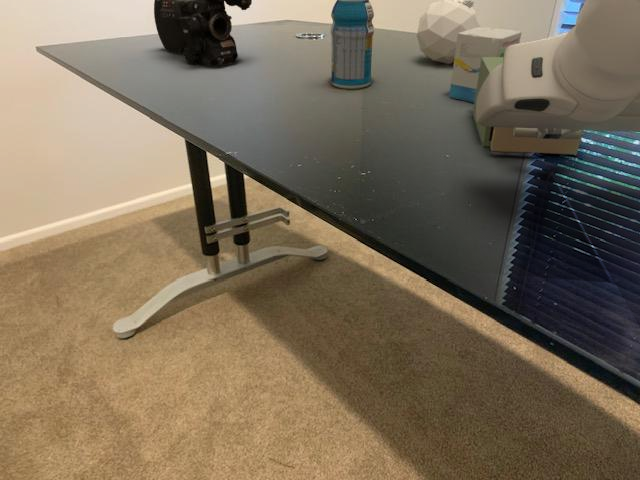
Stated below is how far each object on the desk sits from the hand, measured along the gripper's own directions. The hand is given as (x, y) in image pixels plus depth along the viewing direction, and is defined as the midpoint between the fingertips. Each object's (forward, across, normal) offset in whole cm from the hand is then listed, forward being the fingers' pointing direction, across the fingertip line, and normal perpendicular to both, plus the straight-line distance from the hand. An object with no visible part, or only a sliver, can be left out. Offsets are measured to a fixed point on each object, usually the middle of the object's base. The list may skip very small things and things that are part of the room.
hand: (549, 133), depth 64 cm
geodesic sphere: (+48, +9, -40) cm, 63 cm away
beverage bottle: (+32, +29, -24) cm, 50 cm away
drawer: (+10, 0, -3) cm, 10 cm away
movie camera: (+46, +68, -38) cm, 91 cm away
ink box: (+28, +4, -20) cm, 34 cm away
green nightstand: (+15, 0, -7) cm, 17 cm away
